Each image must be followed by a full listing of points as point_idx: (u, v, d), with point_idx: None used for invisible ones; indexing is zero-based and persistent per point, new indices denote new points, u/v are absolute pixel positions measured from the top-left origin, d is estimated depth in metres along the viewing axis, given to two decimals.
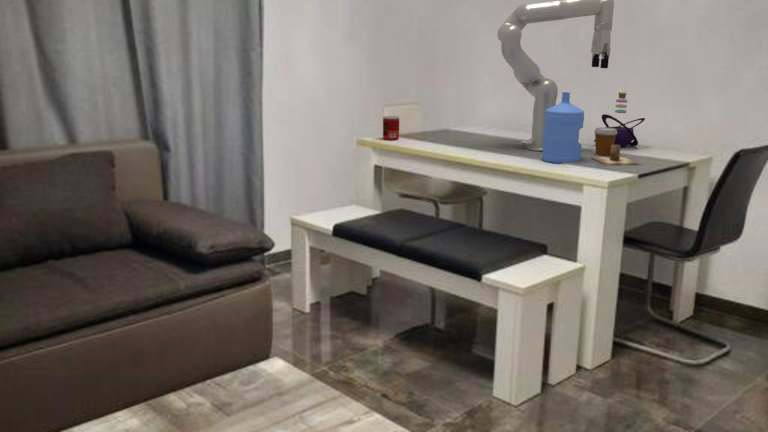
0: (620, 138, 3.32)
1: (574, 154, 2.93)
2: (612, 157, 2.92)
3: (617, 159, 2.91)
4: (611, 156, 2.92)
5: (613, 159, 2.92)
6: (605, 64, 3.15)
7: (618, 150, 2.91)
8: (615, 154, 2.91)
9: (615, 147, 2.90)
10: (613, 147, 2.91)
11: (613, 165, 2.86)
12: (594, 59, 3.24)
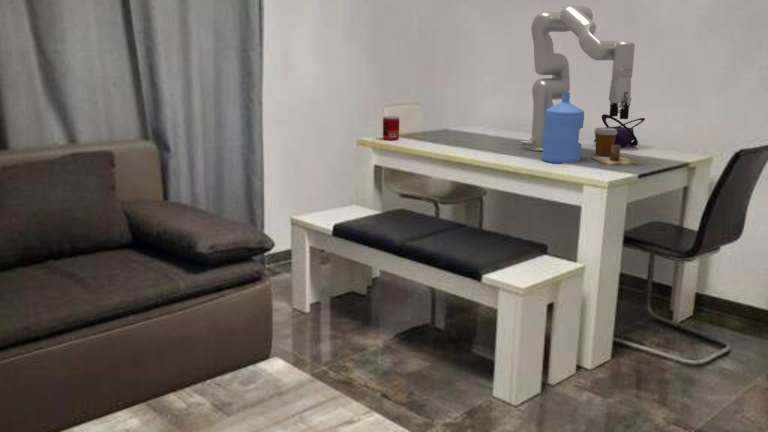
0: (620, 138, 3.32)
1: (574, 154, 2.93)
2: (612, 157, 2.92)
3: (617, 159, 2.91)
4: (611, 156, 2.92)
5: (613, 159, 2.92)
6: (625, 115, 2.83)
7: (618, 150, 2.91)
8: (615, 154, 2.91)
9: (615, 147, 2.90)
10: (613, 147, 2.91)
11: (613, 165, 2.86)
12: (612, 108, 2.93)
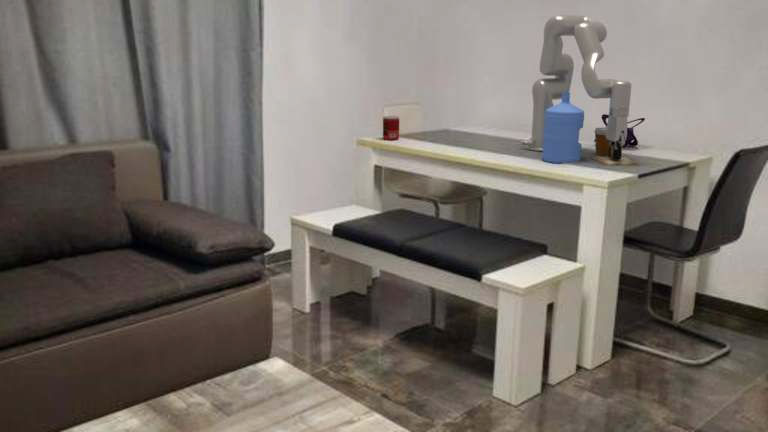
0: None
1: (574, 154, 2.93)
2: (612, 157, 2.92)
3: (617, 159, 2.91)
4: (611, 156, 2.92)
5: (613, 159, 2.92)
6: (618, 155, 2.90)
7: None
8: None
9: None
10: (613, 147, 2.91)
11: (613, 165, 2.86)
12: None
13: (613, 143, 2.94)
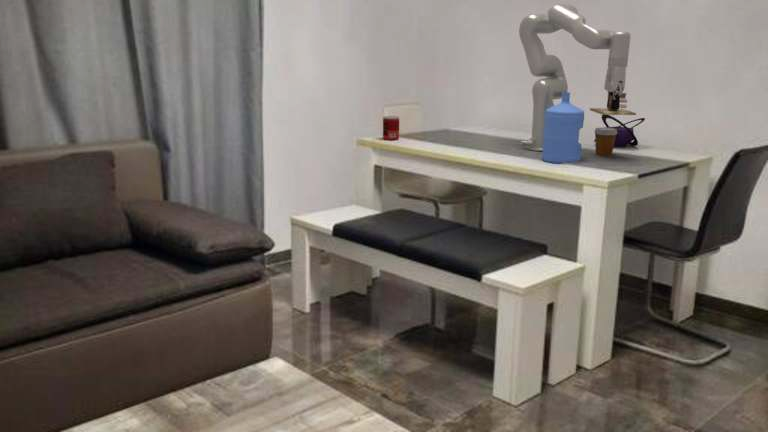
0: (620, 138, 3.32)
1: (574, 154, 2.93)
2: (610, 107, 2.96)
3: None
4: (609, 106, 2.96)
5: (611, 109, 2.96)
6: (616, 105, 2.94)
7: None
8: None
9: None
10: (611, 97, 2.95)
11: (613, 165, 2.86)
12: None
13: (612, 94, 2.98)
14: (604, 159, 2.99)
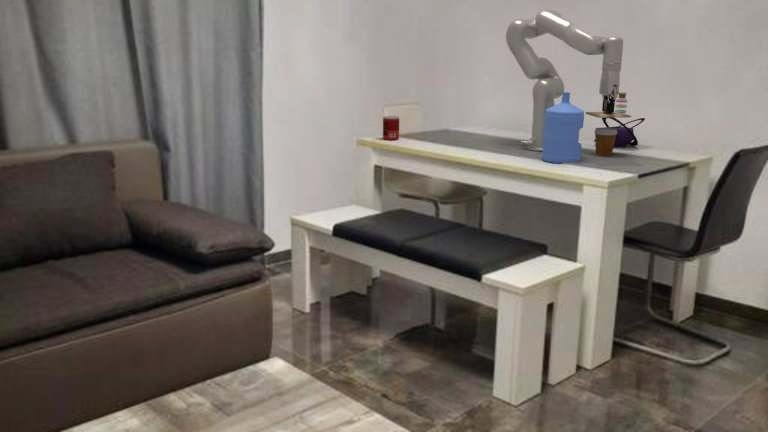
0: (620, 138, 3.32)
1: (574, 153, 2.93)
2: (605, 111, 3.05)
3: None
4: (605, 110, 3.05)
5: (606, 112, 3.05)
6: (611, 108, 3.03)
7: None
8: None
9: None
10: (606, 101, 3.04)
11: (613, 165, 2.86)
12: None
13: (606, 98, 3.08)
14: (604, 159, 2.99)
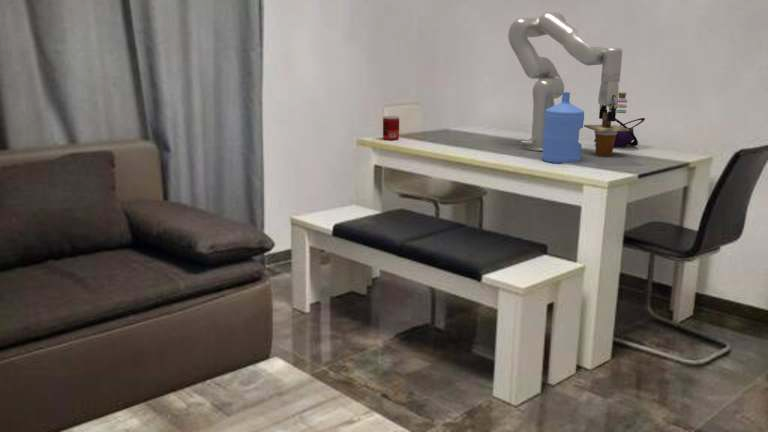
0: (620, 138, 3.32)
1: (574, 154, 2.93)
2: (604, 124, 3.07)
3: (609, 126, 3.06)
4: (603, 123, 3.07)
5: (605, 126, 3.06)
6: (612, 117, 3.02)
7: None
8: (607, 121, 3.06)
9: (606, 114, 3.05)
10: (605, 114, 3.06)
11: (613, 165, 2.86)
12: (601, 111, 3.10)
13: (603, 105, 3.11)
14: (604, 159, 2.99)
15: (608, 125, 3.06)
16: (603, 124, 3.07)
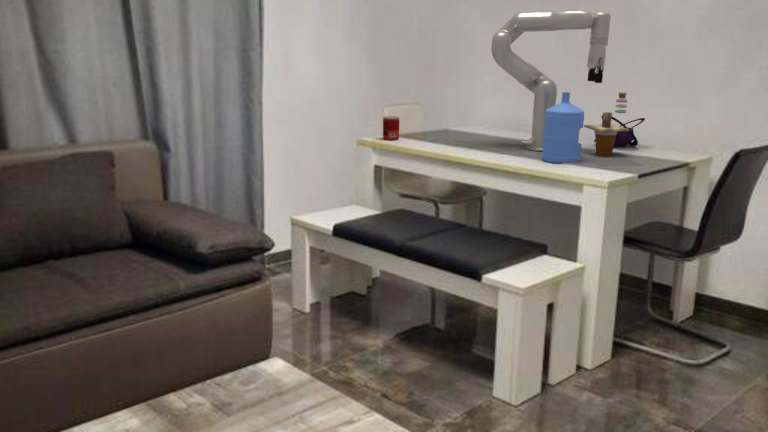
0: (620, 138, 3.32)
1: (574, 153, 2.93)
2: (604, 124, 3.07)
3: (609, 126, 3.06)
4: (603, 123, 3.07)
5: (605, 126, 3.06)
6: (599, 79, 3.12)
7: (609, 117, 3.05)
8: (607, 121, 3.06)
9: (606, 114, 3.05)
10: (605, 114, 3.06)
11: (613, 165, 2.86)
12: (590, 73, 3.21)
13: (592, 68, 3.22)
14: (604, 159, 2.99)
15: (608, 125, 3.06)
16: (603, 124, 3.07)
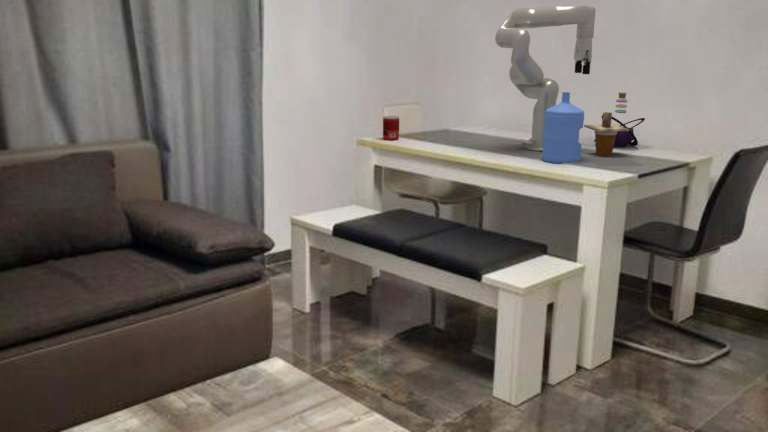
0: (620, 138, 3.32)
1: (574, 154, 2.93)
2: (604, 124, 3.07)
3: (609, 126, 3.06)
4: (603, 123, 3.07)
5: (605, 126, 3.06)
6: (587, 70, 3.26)
7: (609, 117, 3.05)
8: (607, 121, 3.06)
9: (606, 114, 3.05)
10: (605, 114, 3.06)
11: (613, 165, 2.86)
12: (577, 65, 3.35)
13: (578, 60, 3.36)
14: (604, 159, 2.99)
15: (608, 125, 3.06)
16: (603, 124, 3.07)
